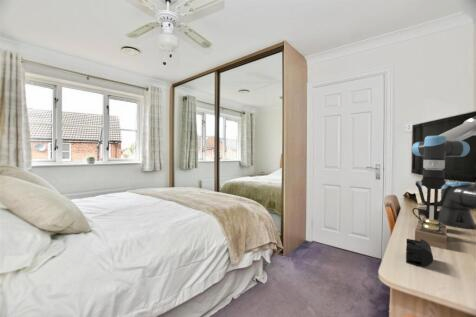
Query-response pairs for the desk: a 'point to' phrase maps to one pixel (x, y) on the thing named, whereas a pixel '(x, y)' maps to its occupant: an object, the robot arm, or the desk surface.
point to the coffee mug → (424, 213)
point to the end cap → (418, 253)
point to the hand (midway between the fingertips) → (431, 219)
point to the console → (432, 235)
